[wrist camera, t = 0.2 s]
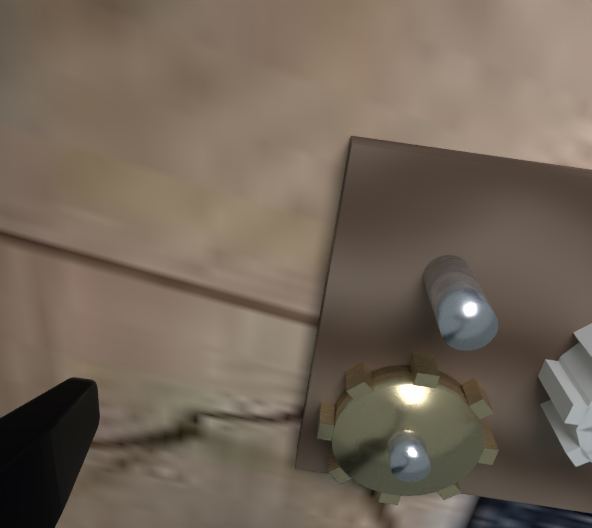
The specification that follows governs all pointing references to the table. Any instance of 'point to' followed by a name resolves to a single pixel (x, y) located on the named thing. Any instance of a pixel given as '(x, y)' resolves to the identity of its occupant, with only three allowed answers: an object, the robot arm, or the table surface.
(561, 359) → the pale gear
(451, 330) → the peg
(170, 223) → the table surface
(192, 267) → the table surface
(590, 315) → the gear board
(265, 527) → the table surface
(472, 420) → the brass gear
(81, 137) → the table surface
